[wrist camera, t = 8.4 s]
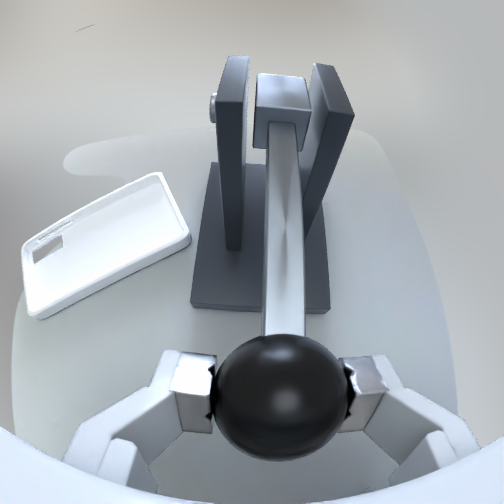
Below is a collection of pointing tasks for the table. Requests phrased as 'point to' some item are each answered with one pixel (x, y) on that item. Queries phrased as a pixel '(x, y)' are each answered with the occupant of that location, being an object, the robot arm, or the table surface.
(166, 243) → the phone case
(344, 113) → the bracket
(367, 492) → the dice cube
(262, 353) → the lever
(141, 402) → the robot arm
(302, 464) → the table surface
